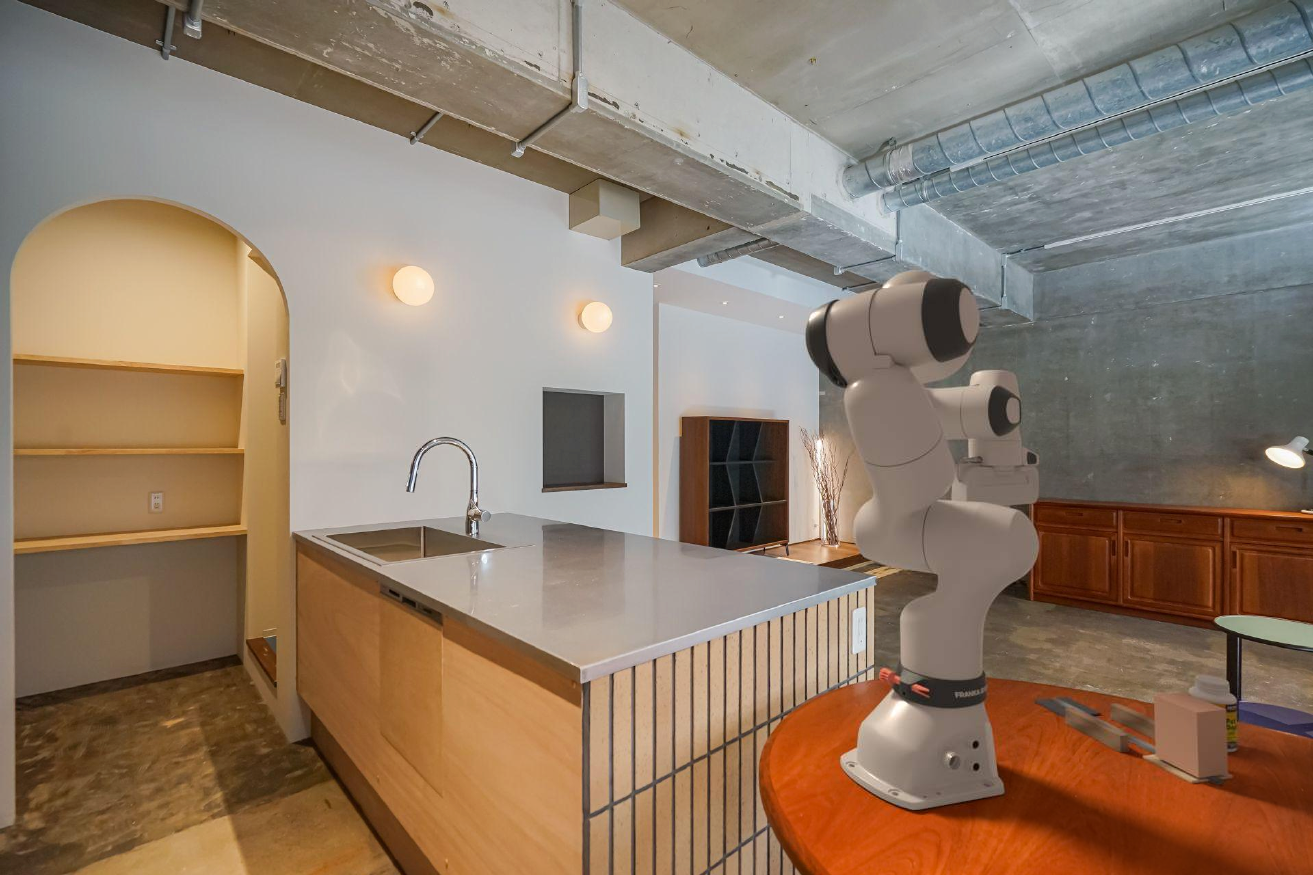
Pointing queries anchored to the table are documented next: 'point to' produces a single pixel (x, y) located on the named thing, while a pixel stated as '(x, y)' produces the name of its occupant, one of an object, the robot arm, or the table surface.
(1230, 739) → the supplement bottle
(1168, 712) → the block
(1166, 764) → the mat
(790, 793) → the table surface
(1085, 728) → the track
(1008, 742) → the table surface
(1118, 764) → the table surface
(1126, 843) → the table surface
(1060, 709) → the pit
